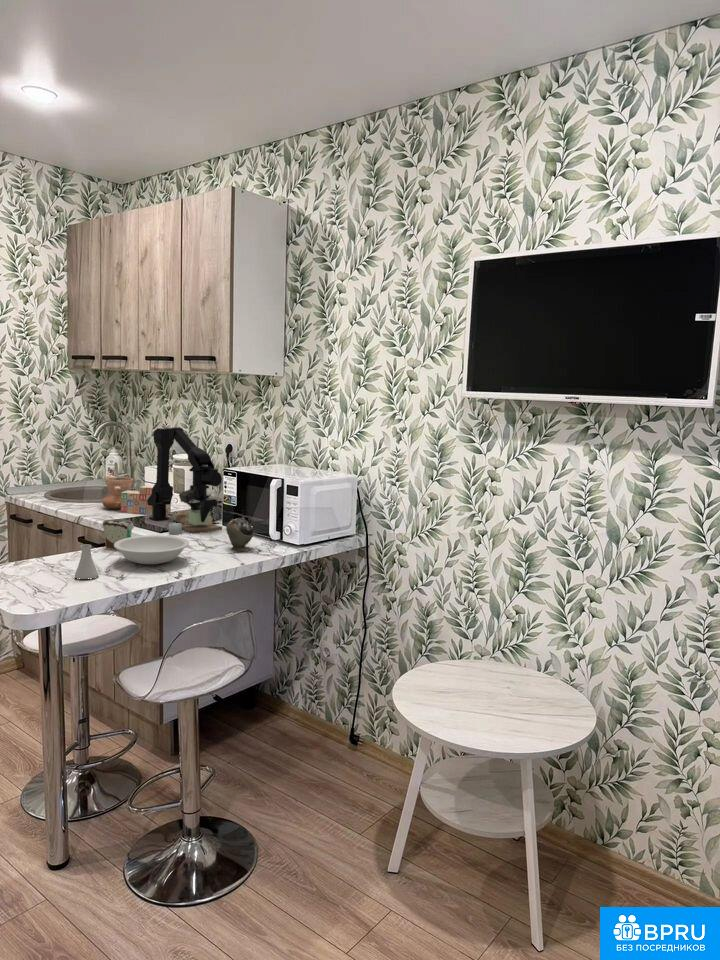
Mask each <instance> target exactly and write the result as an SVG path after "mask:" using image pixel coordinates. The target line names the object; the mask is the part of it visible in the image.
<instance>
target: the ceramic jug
mask: <svg viewBox="0 0 720 960" xmlns="http://www.w3.org/2000/svg"><path fill="white" fill-rule="evenodd" d="M104 482H105V485H106V488H107V491H108V493H109V494H107V495H106V496H105V497H103V499H102V505H103V507H105V508H106V509H110V510H116V511H119V510H120V511H121V492H124V491H131V489H132V486H133V483H134V478H131V477H128V476H108V477H105V478H104Z"/></svg>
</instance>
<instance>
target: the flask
mask: <svg viewBox="0 0 720 960" xmlns="http://www.w3.org/2000/svg"><path fill="white" fill-rule="evenodd" d="M80 549H81V555H80V559H79V562H78V565H77V567H76V570H75V573H74V576H75V578H78V579H77V580H79V578H80V579H88V578H89V579H90V578H95V577H97V576H99V573H98V570H97V568H96V566H95V563H94V559H93V557H92V553H91V549H92V544H87V543H86V544H82V545H81V544H80ZM97 578H98V577H97ZM95 579H96V578H95ZM90 580H91V579H90Z"/></svg>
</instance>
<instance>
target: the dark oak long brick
mask: <svg viewBox="0 0 720 960" xmlns="http://www.w3.org/2000/svg"><path fill="white" fill-rule="evenodd" d="M189 511H190V510H179V511H178V512H177V513H176V514H175V523H176V522H183V523H186V522H187V521H188V520H189ZM188 522H189V521H188ZM188 522H187V523H188ZM187 523H186V524H187Z"/></svg>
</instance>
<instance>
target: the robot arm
mask: <svg viewBox="0 0 720 960" xmlns="http://www.w3.org/2000/svg"><path fill="white" fill-rule="evenodd" d="M174 442H176V443H177V444H178V445H179V447H180V448H181V449H182V450H183V451H184V452H185V453H186V455H187V460H188V462H189V463H190V466H191V468H189V469H188V470H189V471H190V472H192V485H190V486H189V489H187V490H185V491H183V492H181V493H179V494H178V497H179V499H180V502H181V503H184V504H186V505H188V506H190V509H191V511H193V510H200V513H201V522H204V521H205V519H206V517H207V515H208V513H209V511H210V512H211V510H212V508H215V507H218V506H219V505H218V504H219V501H218V500H217V499H216V498H211V497H210V495H208V489H210V486H212V487H218V486H220V485H221V483H222V480H223V478H222V475H221V473H220V472H219V470H218V468H215V466H214V463H213V461H212V459H211V456H210V454H209V453H208V452H207V451H205V450H204V449H202V448H200V447H198V446H197V445H196V444H195V443H194V442H193V440H192V439H191V438H190V437H189V436H188V435H187V434H186V432H184V429H183V428H182V427H181V426H180V427H178V426H177V427H175V426H174V427H173V426H172V427H164V428H161V427H159V428H158V427H157V428H156V429H155V430H153V443H154V445H155V446H156V450H157V453H156V454H157V457H156V459H157V460H156V482H155V484H154V485H152V486H153V488H152V494H151V496H150V497H149V498H148V500H147V503H148V505H150V506H152V515H151V516H149V517H148V519H151V520H154V521H162V520H169V519H170V517H168V516H167V515H166V505H168V504H172V499H173V496H174V487H173V486H172V485H171V484H170V483H169V478H170V477H169V476H170V453H171V452H170V451H171V448H172V446H173V445H174Z"/></svg>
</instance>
